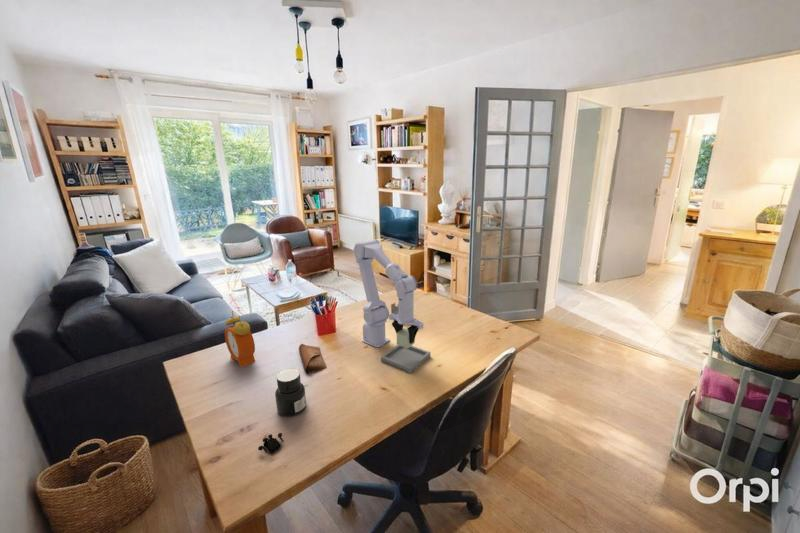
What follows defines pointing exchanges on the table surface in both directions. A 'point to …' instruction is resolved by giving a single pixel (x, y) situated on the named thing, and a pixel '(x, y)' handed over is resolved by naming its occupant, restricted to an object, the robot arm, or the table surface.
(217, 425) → the table surface
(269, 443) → the black knobbed ornament
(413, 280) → the robot arm
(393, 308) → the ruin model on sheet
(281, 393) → the ink bottle
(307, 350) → the sunglasses case
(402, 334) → the cube
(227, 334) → the alarm clock
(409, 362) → the tray
